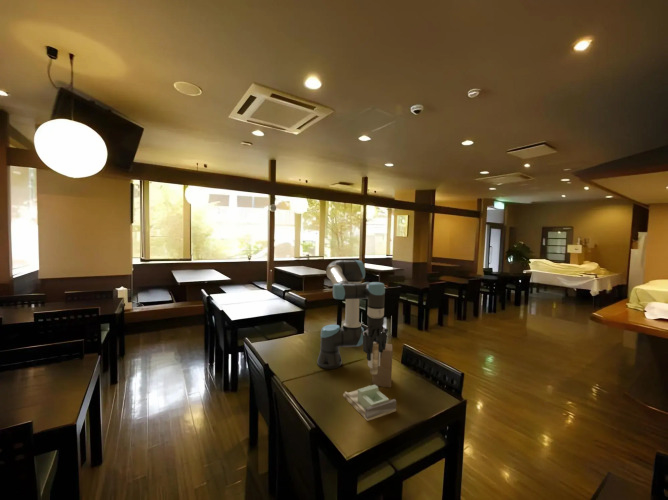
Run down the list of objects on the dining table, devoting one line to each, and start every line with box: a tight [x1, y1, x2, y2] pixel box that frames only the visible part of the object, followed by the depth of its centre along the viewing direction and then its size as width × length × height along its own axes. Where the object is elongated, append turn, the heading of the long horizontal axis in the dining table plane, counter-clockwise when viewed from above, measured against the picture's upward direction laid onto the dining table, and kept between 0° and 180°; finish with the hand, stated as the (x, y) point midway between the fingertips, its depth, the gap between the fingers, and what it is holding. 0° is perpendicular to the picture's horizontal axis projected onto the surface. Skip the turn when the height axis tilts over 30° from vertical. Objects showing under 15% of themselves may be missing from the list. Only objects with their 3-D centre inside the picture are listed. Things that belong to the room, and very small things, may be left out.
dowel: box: [369, 341, 379, 376], centre depth 130 cm, size 4×4×14 cm
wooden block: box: [371, 343, 393, 388], centre depth 154 cm, size 10×10×20 cm
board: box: [342, 385, 397, 422], centre depth 134 cm, size 21×16×5 cm
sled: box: [357, 384, 390, 409], centre depth 131 cm, size 11×10×6 cm
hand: (373, 365), depth 130 cm, fingers closed on dowel, 3 cm apart
